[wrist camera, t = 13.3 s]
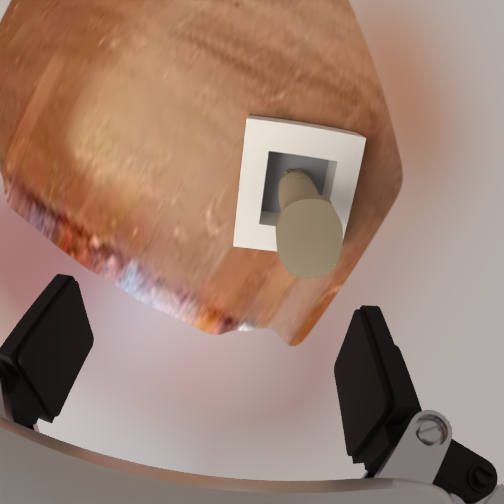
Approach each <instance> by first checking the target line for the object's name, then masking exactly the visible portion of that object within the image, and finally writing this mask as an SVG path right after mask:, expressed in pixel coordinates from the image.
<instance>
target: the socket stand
mask: <svg viewBox="0 0 504 504" xmlns="http://www.w3.org/2000/svg"><path fill="white" fill-rule="evenodd" d="M365 142H366V138H365V137H364V136H362V135H360V134H358V133H356V132H354V131H351V130H346V129H341V128H336V127H330V126H325V125H320V124H314V123H308V122H302V121H295V120H289V119H282V118H274V117H267V116H258V115H249V116H248V117H247V121H246V130H245V138H244V147H243V156H242V165H241V175H240V184H239V193H238V203H237V213H236V223H235V233H234V243H233V246H236V247H244V248H253V249H261V250H270V251H277V243H276V223H277V220H278V217H279V214H280V212H281V207H280V203H279V195H278V191H279V182H280V179H281V178H282V177H283V176H284V174H285V171H286V170H287V169H290V170H295V169H297V168H299V169H301V170H302V171H303V173H305V174H306V175H307V176H308V177H309V178H310V179H311V180H312V182H313V183H314V185H315V187H316V189H317V192H318V195H321V196H323V197H326V198H327V199H329V200H330V201H331V203H332V205H333V207H334V209H335V210H336V212H337V214H338V216H339V219H340V221H341V224H342V227H343V238H344V234H345V230H346V227H347V223H348V219H349V214H350V210H351V206H352V202H353V198H354V194H355V189H356V185H357V180H358V176H359V171H360V166H361V162H362V157H363V152H364V147H365Z"/></svg>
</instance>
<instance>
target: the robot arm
mask: <svg viewBox="0 0 504 504" xmlns="http://www.w3.org/2000/svg"><path fill="white" fill-rule="evenodd" d="M93 341H94V337H93V334H92V330H91V327H90V324H89V321H88V317H87V314H86V310H85V307H84V303H83V299H82V296H81V292H80V288H79V284H78V282H77V281H75V279H74V277H73V276H69V275H63V274H57V275H56V276H55V277H54V278H53V280H52V281H51V282H50V283H49V285H48V286H47V287H46V288H45V290H44V291H43V292H42V293H41V294H40V296H39V297H38V298H37V299H36V301H35V302H34V303H33V304H32V306H31V307H30V308H29V309H28V311H27V312H26V313H25V315H24V316H23V317H22V319H21V320H20V321H19V322H18V324H17V325H16V327H15V328H14V329H13V331H12V332H11V333H10V335H9V336H8V338H7V339H6V340H5V342H4V343H3V345H2V346H1V347H0V504H504V485H503V484H501V485H499V486H498V484H497V473H496V469H495V468H494V466H493V465H492V464H491V463H490V462H489V461H488V460H486V459H484V458H483V457H481V456H479V455H478V454H476V453H474V452H473V451H471V450H469V449H468V448H466V447H464V446H463V445H461V444H459V443H458V442H456V441H454V440H453V439H451V438H452V428H451V425H450V423H449V421H448V420H447V419H446V418H445V417H444V416H443V415H441V414H440V413H438V412H436V411H432V410H425V411H422V410H421V407H420V404H419V401H418V398H417V395H416V392H415V389H414V386H413V384H412V381H411V378H410V375H409V372H408V370H407V367H406V364H405V361H404V359H403V357H402V354H401V351H400V349H399V347H398V346H396V345H395V344H394V342H393V339H392V337H391V334H390V332H389V329H388V327H387V324H386V322H385V319H384V317H383V314H382V312H381V309H380V308H379V307H378V306H365V305H363V306H361V307H360V309H359V310H355V311H354V314H353V317H352V320H351V322H350V325H349V328H348V331H347V333H346V336H345V339H344V342H343V344H342V347H341V350H340V352H339V355H338V357H337V360H336V362H335V366H334V374H335V380H336V386H337V392H338V398H339V404H340V410H341V416H342V422H343V429H344V435H345V443H346V450H347V454H348V455H349V456H352V459H353V463H354V464H355V463H364V465H365V470H367V471H366V473H365V474H364V476H363V477H362V478H361V479H346V480H326V481H264V480H246V479H234V478H223V477H213V476H206V475H198V474H191V473H184V472H178V471H172V470H167V469H162V468H156V467H151V466H147V465H142V464H137V463H134V462H130V461H126V460H122V459H118V458H114V457H110V456H107V455H103V454H100V453H96V452H93V451H90V450H87V449H83V448H80V447H77V446H74V445H71V444H69V443H66V442H63V441H60V440H57V439H55V438H52V437H49V436H47V435H44V434H42V433H39V429H38V426H37V420H38V418H40V419H42V420H44V421H47V422H50V423H52V422H53V420H54V417H56V416H58V415H59V413H60V412H61V409H62V407H63V405H64V403H65V401H66V399H67V396H68V394H69V392H70V390H71V388H72V386H73V384H74V382H75V380H76V378H77V375H78V373H79V371H80V369H81V367H82V365H83V363H84V361H85V359H86V357H87V356H88V353H89V351H90V350H91V348H92V346H93Z"/></svg>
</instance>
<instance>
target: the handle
mask: <svg viewBox="0 0 504 504" xmlns="http://www.w3.org/2000/svg"><path fill="white" fill-rule="evenodd" d="M278 195H279V203H280V207H281V212H280V214H279V217H278V220H277V223H276V243H277V252H278V256H279V258H280V261H281V262H282V264H283V265H284V267H285V268H286V270H287V271H288V273H289V274H290V275H293V276H295V277H298V278H316V277H320V276H323V275H325V274H327V273H329V272H330V271H332V269H333V267H334V266H335V264H336V262H337V260H338V258H339V256H340V254H341V251H342V245H343V227H342V224H341V221H340V219H339V216H338V214H337V212H336V210H335V209H334V207H333V205H332V203H331V201H330V200H329V199H327V198H326V197H323V196H321V195H318V192H317V189H316V187H315V185H314V183H313V182H312V180H311V179H310V178H309V177H308V176H307V175H306V174H305V173H303V171H302V170H301V169H299V168H297V169H295V170H290V169H287V170H286V171H285V174H284V176H283V177H282V178H281V179H280V182H279V191H278Z"/></svg>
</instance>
